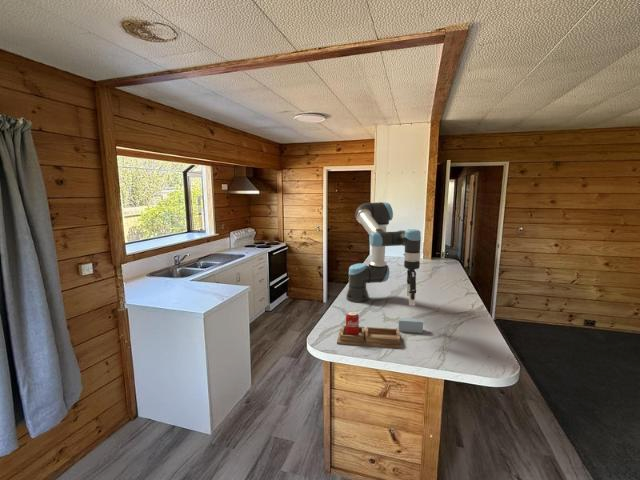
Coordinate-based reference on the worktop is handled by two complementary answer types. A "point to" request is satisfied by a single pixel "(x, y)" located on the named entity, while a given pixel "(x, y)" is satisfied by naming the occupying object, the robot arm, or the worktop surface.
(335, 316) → the worktop surface
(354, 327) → the beverage can
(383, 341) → the tray
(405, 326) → the bar
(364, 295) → the robot arm
